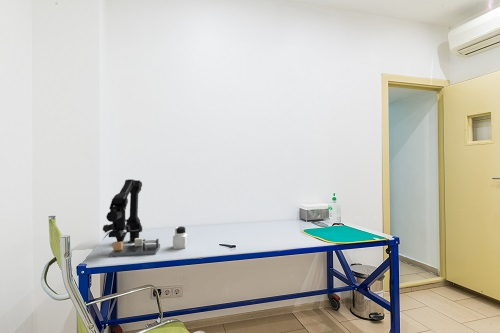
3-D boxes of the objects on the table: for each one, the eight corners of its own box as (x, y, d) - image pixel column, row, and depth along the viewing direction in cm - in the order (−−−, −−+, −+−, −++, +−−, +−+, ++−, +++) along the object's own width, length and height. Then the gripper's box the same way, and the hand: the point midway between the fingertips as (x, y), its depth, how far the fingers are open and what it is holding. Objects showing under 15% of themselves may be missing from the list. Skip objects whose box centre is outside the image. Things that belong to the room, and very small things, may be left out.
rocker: (147, 243, 161) (147, 240, 161) (157, 242, 162) (157, 240, 162) (142, 243, 150) (143, 240, 151) (154, 242, 151) (154, 240, 151)
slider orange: (115, 248, 153) (115, 241, 153) (122, 248, 153) (122, 241, 153) (113, 250, 150) (113, 243, 150) (121, 250, 150) (121, 242, 150)
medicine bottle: (187, 245, 167) (187, 225, 167) (185, 248, 160) (184, 228, 160) (175, 245, 167) (175, 225, 167) (172, 248, 160) (172, 228, 160)
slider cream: (136, 244, 161) (136, 238, 161) (143, 244, 161) (143, 237, 161) (134, 246, 158) (134, 239, 158) (141, 246, 158) (141, 239, 158)
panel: (117, 249, 160) (117, 238, 160) (160, 247, 164) (160, 236, 164) (109, 256, 146) (109, 244, 146) (156, 254, 150) (155, 242, 150)
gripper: (110, 216, 163) (110, 242, 163) (98, 222, 145) (98, 251, 144) (130, 215, 165) (130, 241, 165) (120, 221, 146) (120, 250, 146)
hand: (120, 246), depth 155 cm, fingers closed
